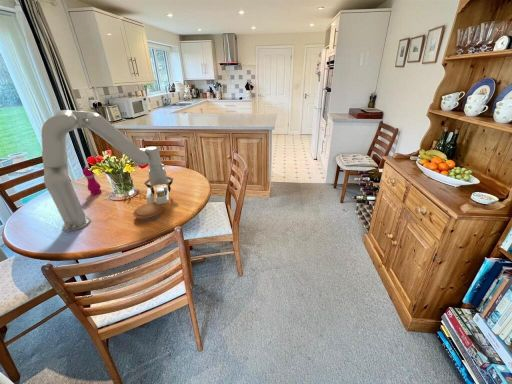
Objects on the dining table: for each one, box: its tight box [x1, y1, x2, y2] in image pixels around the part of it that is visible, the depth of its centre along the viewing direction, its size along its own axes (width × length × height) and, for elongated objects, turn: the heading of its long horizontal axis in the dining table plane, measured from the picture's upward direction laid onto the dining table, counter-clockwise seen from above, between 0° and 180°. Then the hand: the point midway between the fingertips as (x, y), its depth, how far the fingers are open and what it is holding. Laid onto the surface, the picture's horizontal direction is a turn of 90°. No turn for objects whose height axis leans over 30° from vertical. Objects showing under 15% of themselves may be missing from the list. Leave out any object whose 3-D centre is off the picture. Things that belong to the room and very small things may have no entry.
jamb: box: [145, 185, 170, 205], centre depth 151 cm, size 17×12×5 cm
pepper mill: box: [82, 165, 103, 196], centre depth 156 cm, size 7×7×20 cm
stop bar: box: [155, 185, 166, 197], centre depth 151 cm, size 11×4×6 cm, turn 18°
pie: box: [132, 202, 164, 222], centre depth 133 cm, size 15×16×5 cm
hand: (161, 192), depth 151 cm, fingers open, 9 cm apart
